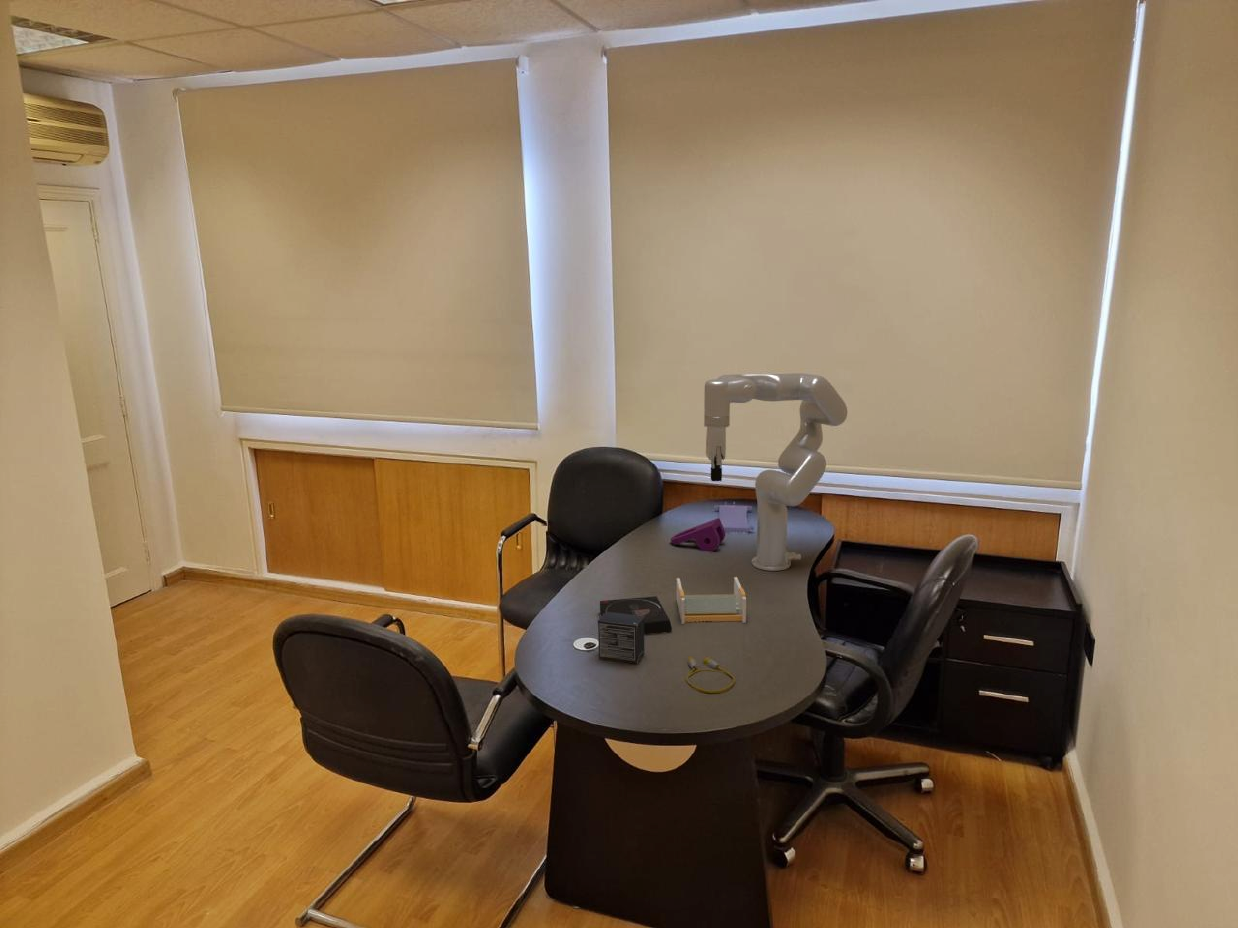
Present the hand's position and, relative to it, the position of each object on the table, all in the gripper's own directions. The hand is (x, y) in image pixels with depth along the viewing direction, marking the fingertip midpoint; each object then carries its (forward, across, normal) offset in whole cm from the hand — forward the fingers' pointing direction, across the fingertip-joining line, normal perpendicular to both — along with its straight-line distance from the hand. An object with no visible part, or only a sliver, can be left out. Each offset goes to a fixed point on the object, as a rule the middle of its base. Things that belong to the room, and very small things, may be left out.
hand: (716, 480), depth 245 cm
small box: (+32, +50, -30) cm, 67 cm away
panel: (+32, +28, -5) cm, 43 cm away
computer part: (+33, -59, +15) cm, 69 cm away
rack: (+32, +24, -4) cm, 40 cm away
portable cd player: (+33, +30, -26) cm, 52 cm away
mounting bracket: (+33, -32, -2) cm, 46 cm away
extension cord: (+33, +62, -9) cm, 70 cm away
